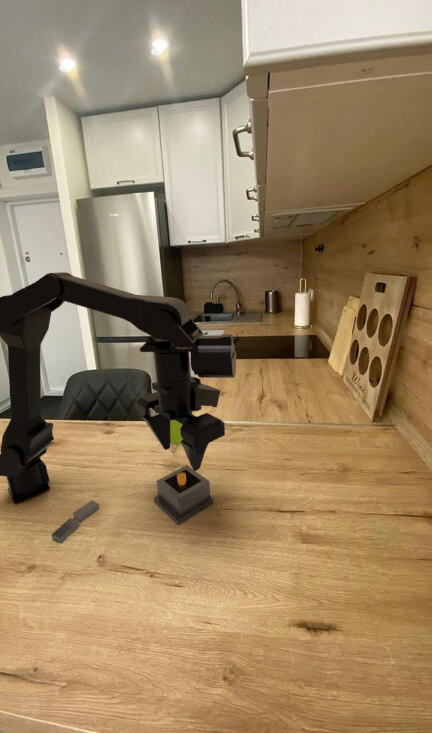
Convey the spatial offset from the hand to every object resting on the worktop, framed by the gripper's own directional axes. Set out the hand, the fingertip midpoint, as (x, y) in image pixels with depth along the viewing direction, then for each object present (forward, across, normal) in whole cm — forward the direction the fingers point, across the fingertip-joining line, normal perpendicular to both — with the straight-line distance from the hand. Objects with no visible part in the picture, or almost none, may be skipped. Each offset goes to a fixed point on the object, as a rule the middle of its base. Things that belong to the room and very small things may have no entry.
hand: (181, 458), depth 59 cm
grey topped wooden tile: (+10, +10, +15) cm, 20 cm away
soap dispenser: (+10, +21, -13) cm, 27 cm away
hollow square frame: (+8, 0, 0) cm, 9 cm away
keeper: (+10, 0, 0) cm, 10 cm away
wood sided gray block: (+10, +8, +19) cm, 23 cm away
